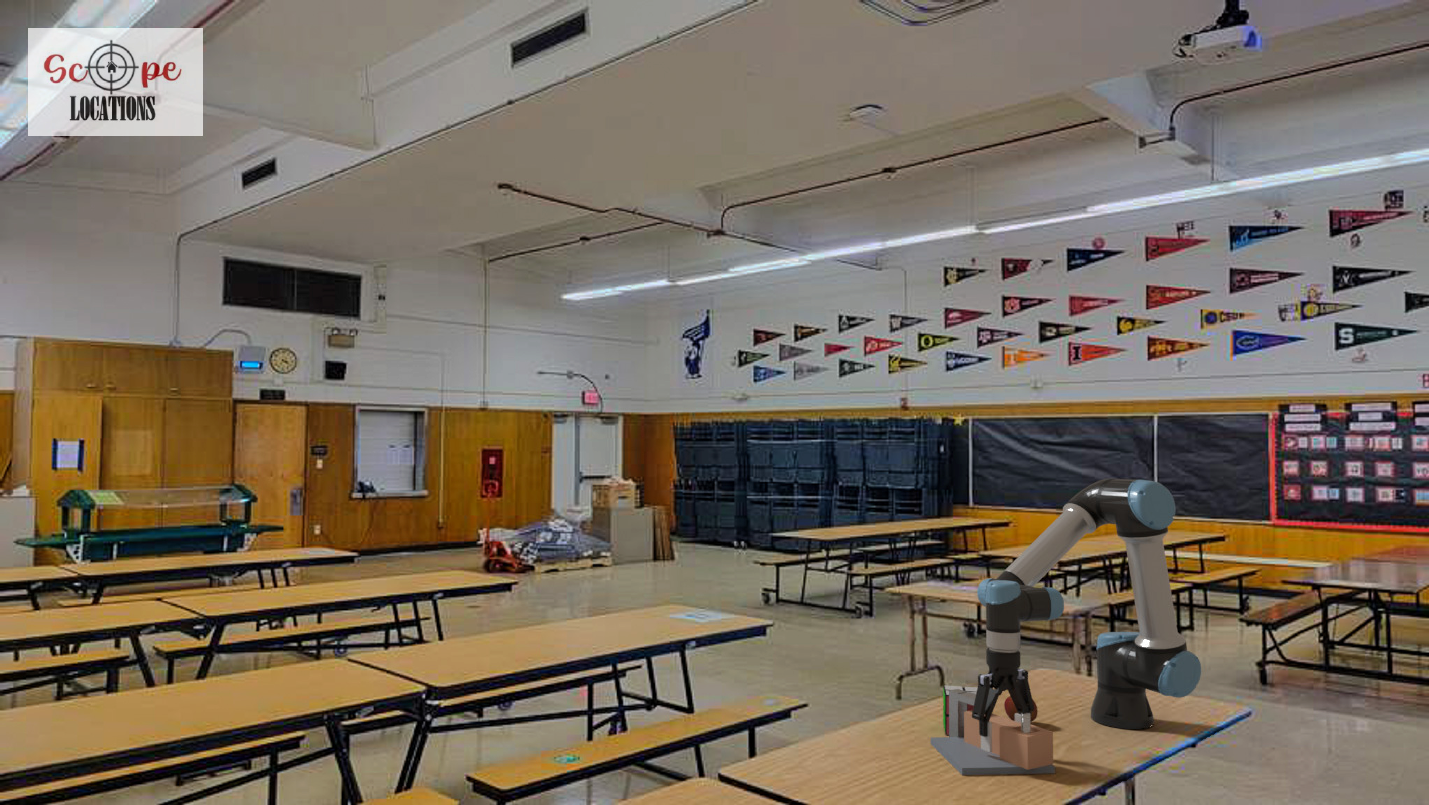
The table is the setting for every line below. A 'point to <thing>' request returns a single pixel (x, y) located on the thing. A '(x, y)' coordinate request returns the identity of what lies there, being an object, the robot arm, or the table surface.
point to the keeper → (958, 710)
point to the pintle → (1025, 722)
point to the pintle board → (978, 759)
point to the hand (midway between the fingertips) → (1003, 746)
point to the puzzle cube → (946, 703)
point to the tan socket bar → (1013, 741)
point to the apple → (1012, 709)
